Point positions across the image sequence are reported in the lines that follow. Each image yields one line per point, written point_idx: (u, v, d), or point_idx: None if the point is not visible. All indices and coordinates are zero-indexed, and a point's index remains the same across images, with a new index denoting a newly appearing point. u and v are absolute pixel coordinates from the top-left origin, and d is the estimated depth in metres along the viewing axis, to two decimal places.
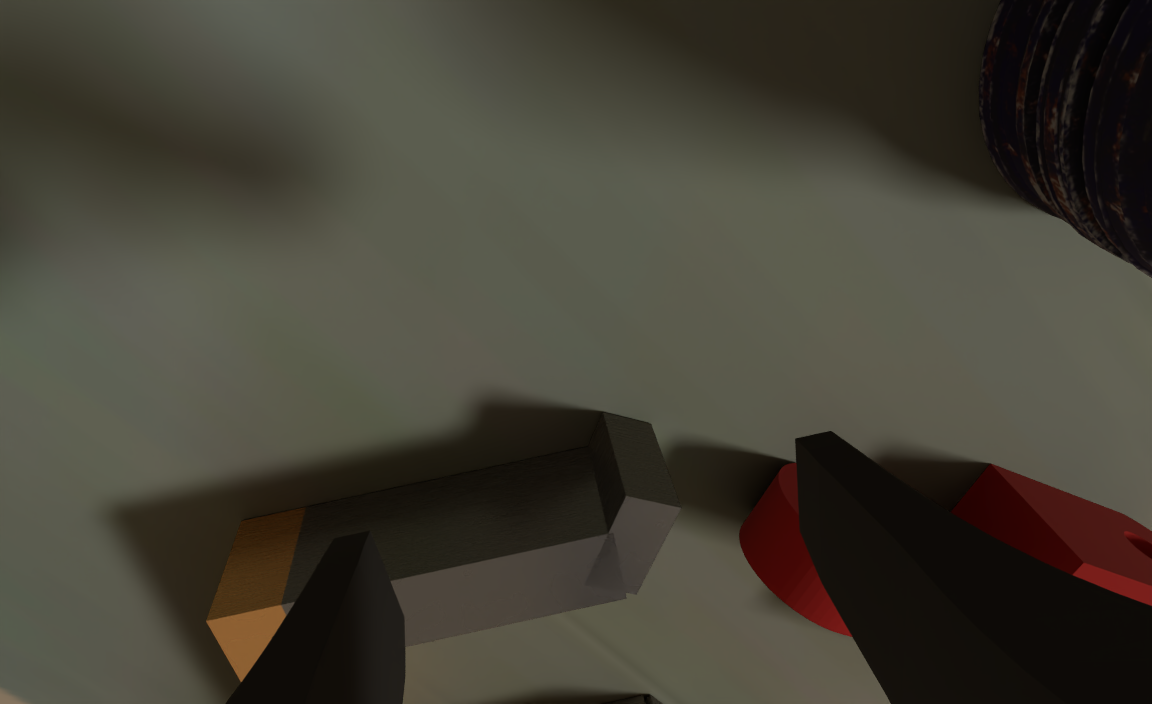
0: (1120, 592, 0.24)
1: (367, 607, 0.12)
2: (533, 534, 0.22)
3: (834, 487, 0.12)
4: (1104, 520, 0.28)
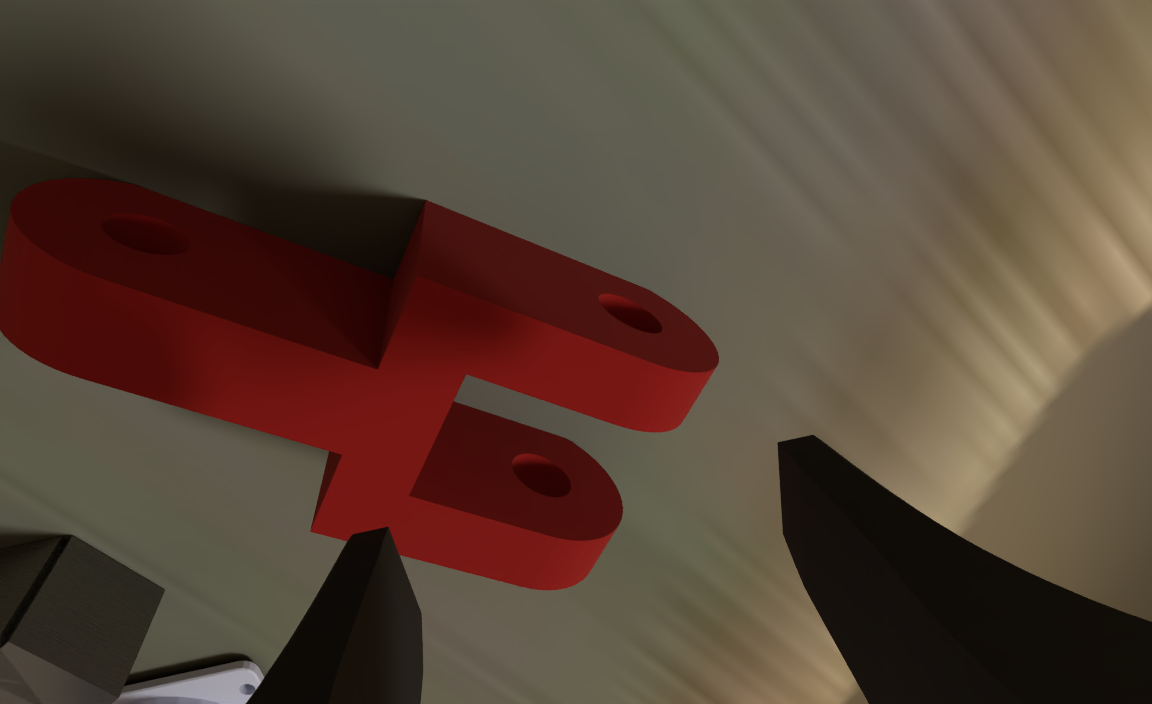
0: (500, 331, 0.17)
1: (387, 603, 0.12)
2: None
3: (814, 491, 0.12)
4: (584, 279, 0.21)
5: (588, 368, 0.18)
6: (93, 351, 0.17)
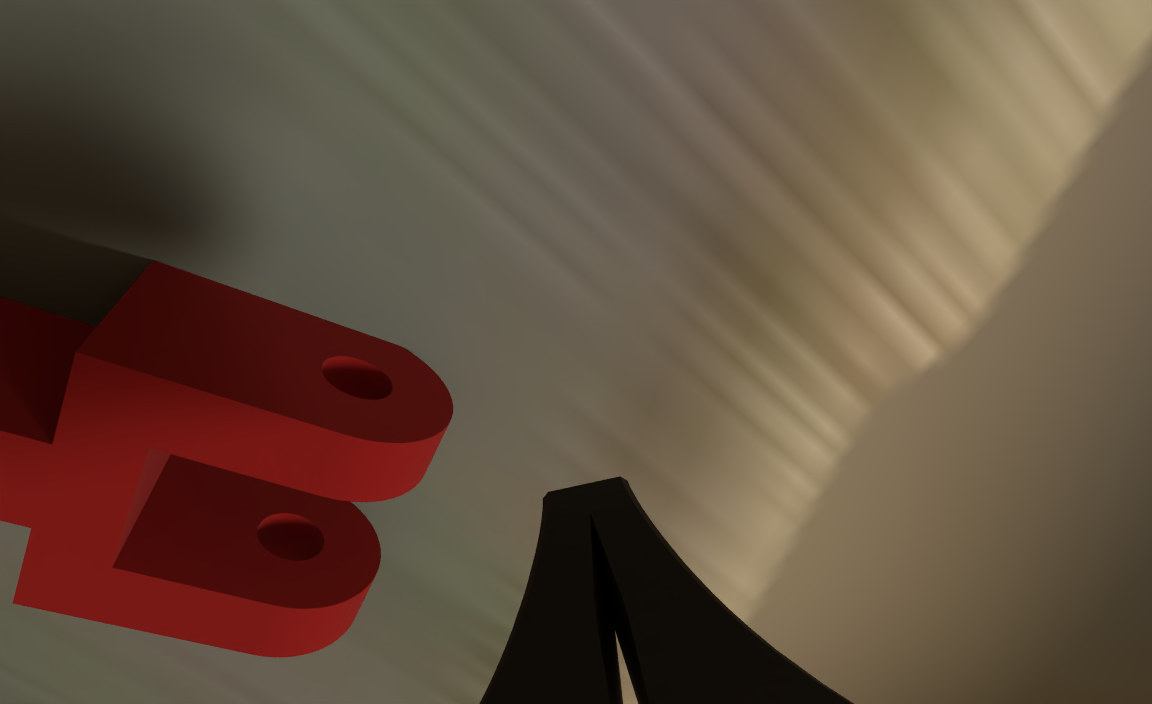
0: (176, 405, 0.17)
1: (597, 557, 0.12)
2: None
3: (599, 538, 0.12)
4: (317, 341, 0.21)
5: (280, 441, 0.18)
6: None
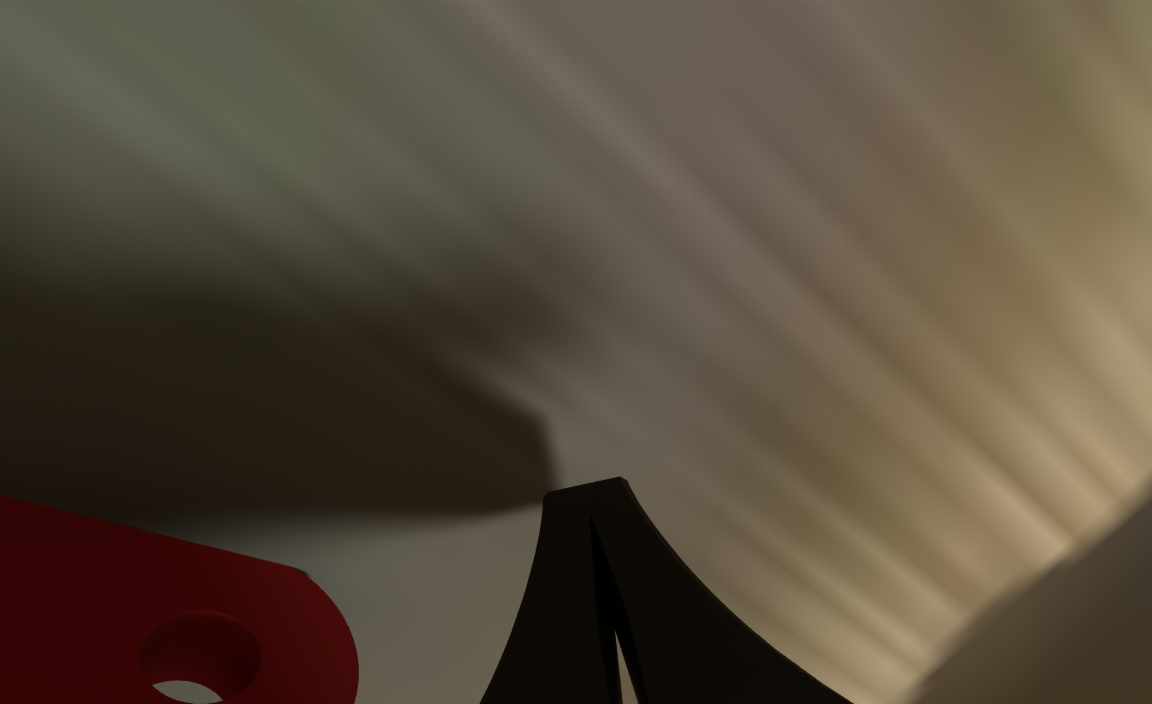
0: None
1: (597, 557, 0.12)
2: None
3: (599, 538, 0.12)
4: (147, 587, 0.13)
5: None
6: None
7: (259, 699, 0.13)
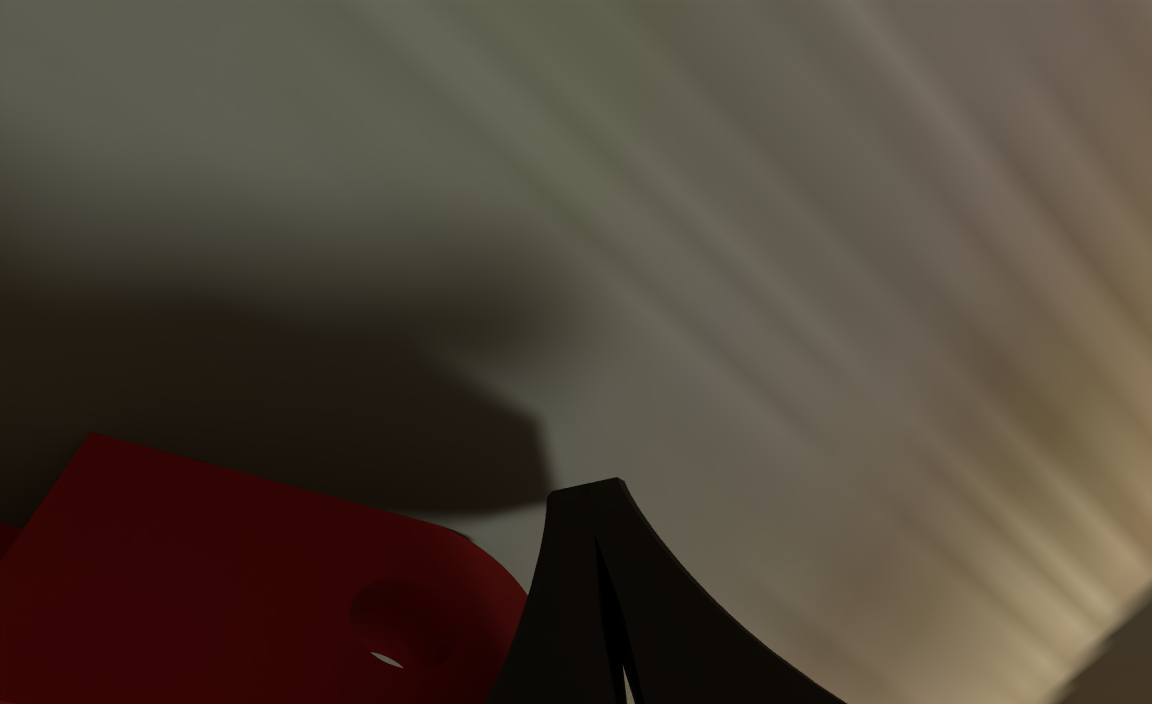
0: None
1: None
2: None
3: None
4: (342, 556, 0.13)
5: None
6: None
7: (466, 666, 0.13)
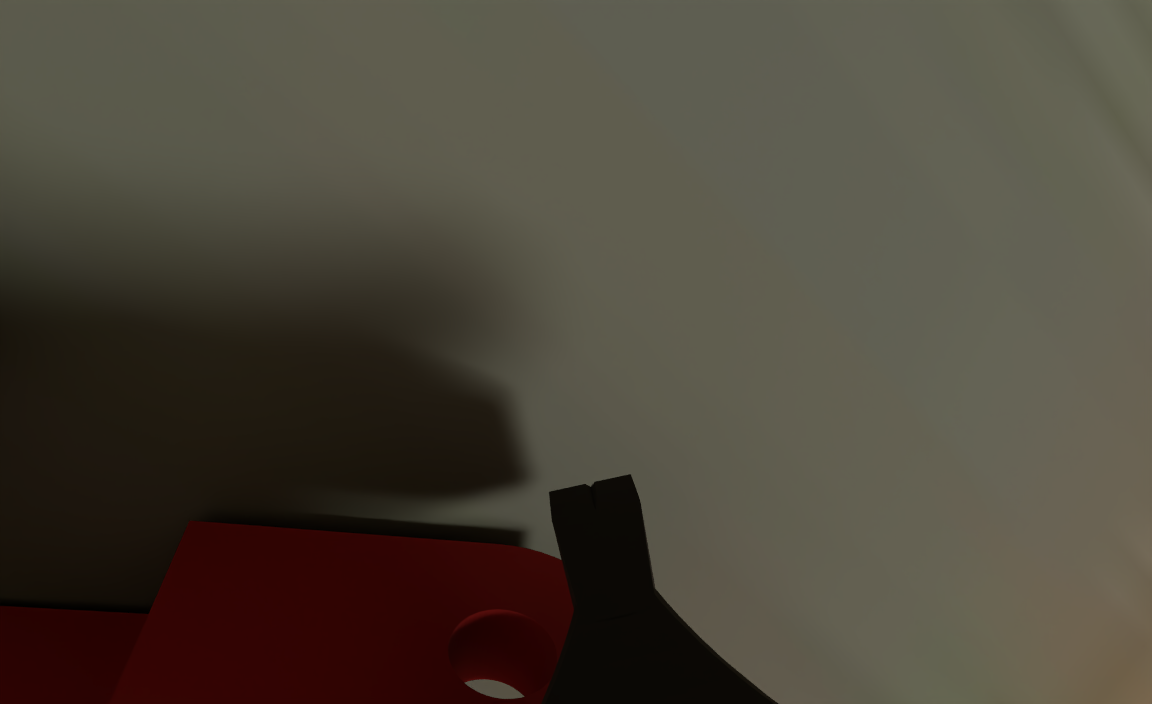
0: None
1: (647, 546, 0.12)
2: None
3: (560, 547, 0.12)
4: (434, 597, 0.14)
5: None
6: None
7: None
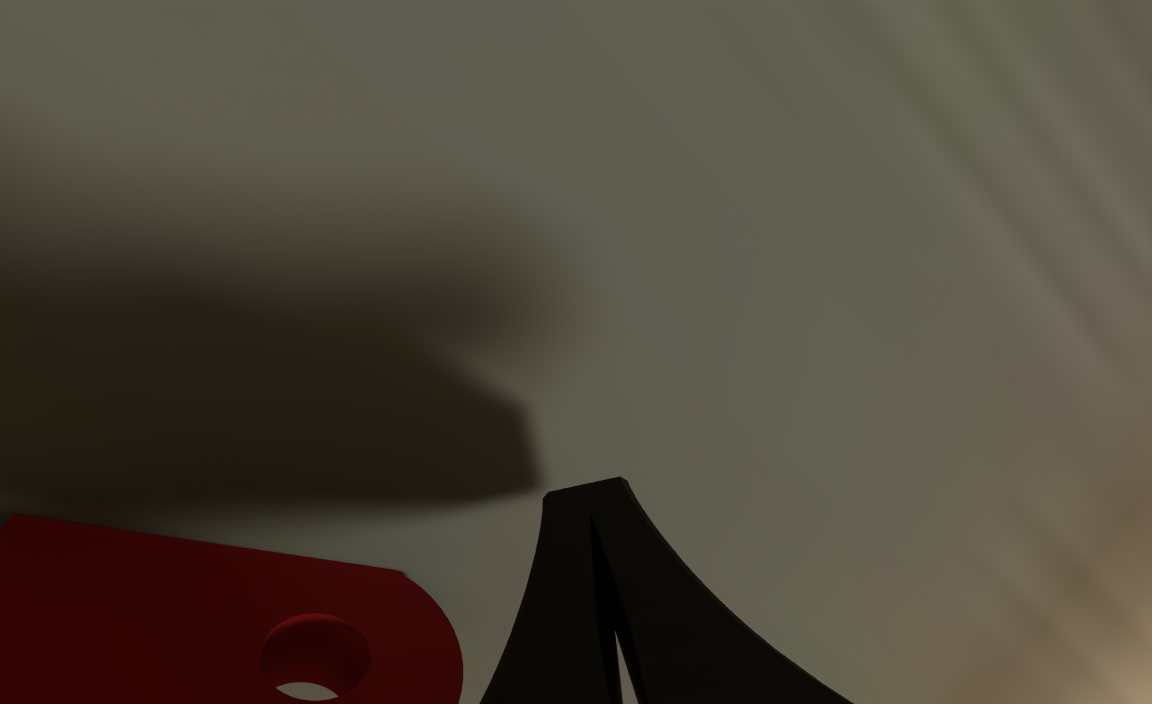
0: None
1: (597, 557, 0.12)
2: None
3: (599, 538, 0.12)
4: (258, 597, 0.14)
5: None
6: None
7: (374, 692, 0.13)
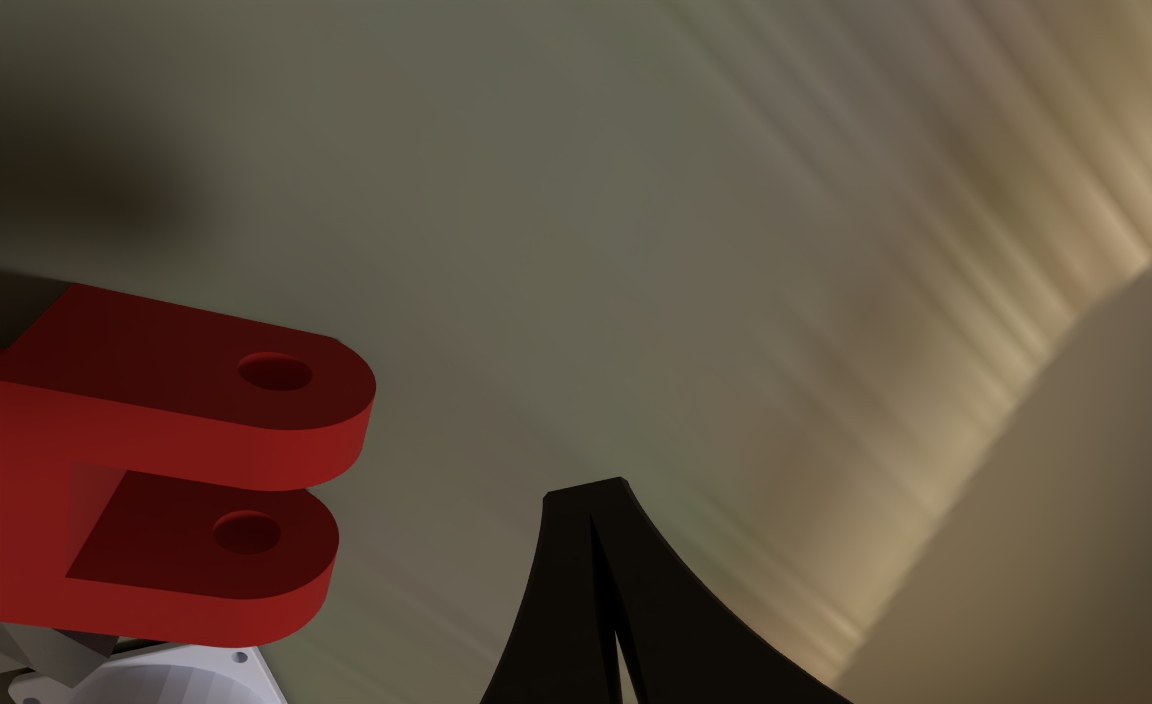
0: (86, 417, 0.18)
1: (597, 557, 0.12)
2: None
3: (599, 538, 0.12)
4: (237, 341, 0.21)
5: (192, 440, 0.18)
6: None
7: (313, 392, 0.20)
